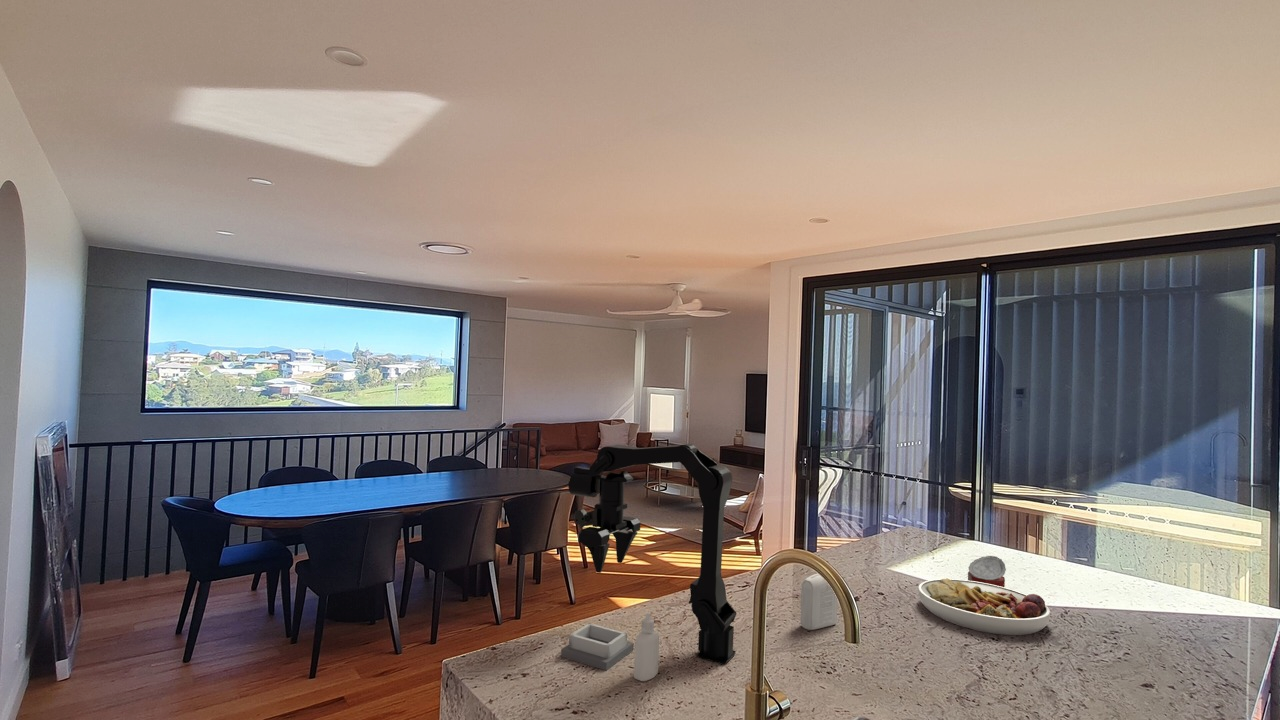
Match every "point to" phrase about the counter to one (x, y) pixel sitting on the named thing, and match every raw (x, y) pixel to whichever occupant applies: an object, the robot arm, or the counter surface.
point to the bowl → (984, 606)
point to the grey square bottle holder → (597, 646)
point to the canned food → (987, 571)
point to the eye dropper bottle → (646, 651)
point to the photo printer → (817, 603)
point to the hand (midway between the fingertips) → (609, 567)
